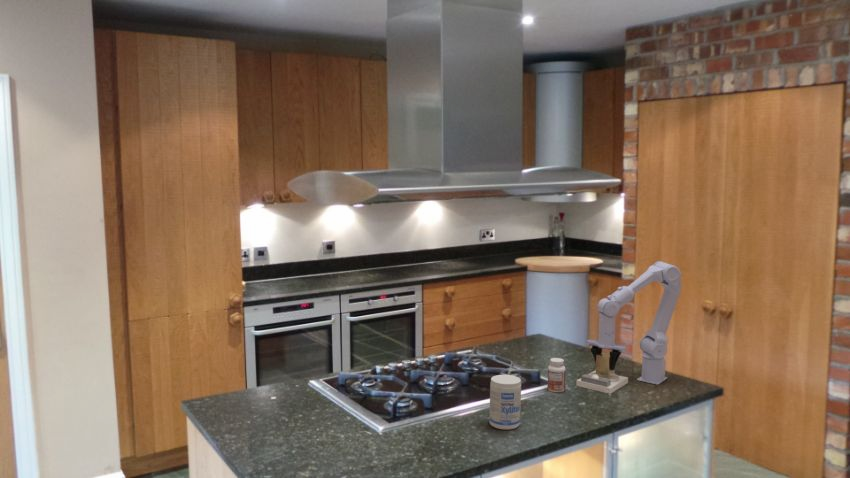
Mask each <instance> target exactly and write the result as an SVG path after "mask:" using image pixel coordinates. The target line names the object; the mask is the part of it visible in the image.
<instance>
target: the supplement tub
mask: <svg viewBox="0 0 850 478" xmlns="http://www.w3.org/2000/svg"><path fill="white" fill-rule="evenodd" d="M489 385H490V389H489V419H488V420H489V421H488V422H489V424H490V426H492V427H493V428H496V429H499V430H505V431H506V430H514V429H516V428H518V427H519V426H520V424H521V408H522V407H521V405H522V404H521V402H522V401H521V400H522V379H521V378H520V377H518V376H516V375H512V374H498V375H497V374H496V375H493V376H492V377H491V378H490V384H489Z"/></svg>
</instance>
